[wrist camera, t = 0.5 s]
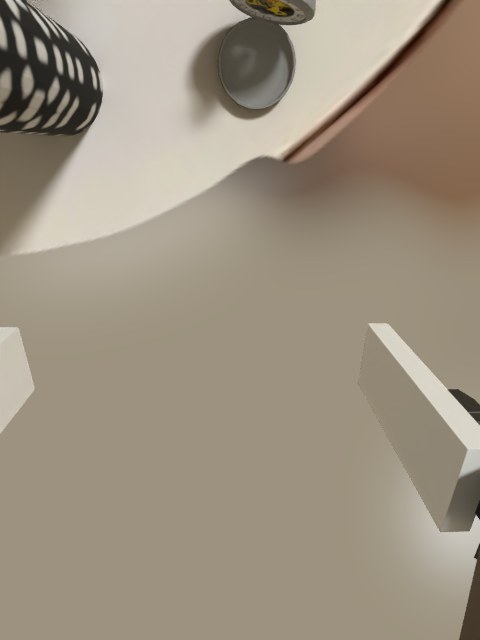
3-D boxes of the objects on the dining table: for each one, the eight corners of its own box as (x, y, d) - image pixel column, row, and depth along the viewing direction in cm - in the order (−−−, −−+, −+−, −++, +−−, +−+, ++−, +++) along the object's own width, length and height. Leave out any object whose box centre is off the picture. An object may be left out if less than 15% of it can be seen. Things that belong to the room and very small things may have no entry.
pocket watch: (235, 122, 35) (239, 113, 26) (197, 16, 32) (186, -36, 23) (320, 84, 34) (354, 61, 25) (290, -29, 31) (317, -102, 22)
